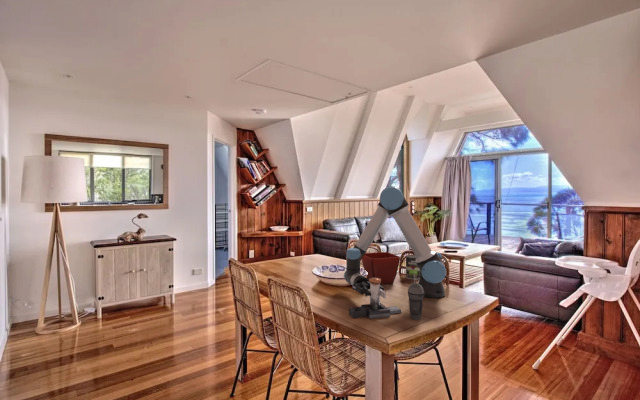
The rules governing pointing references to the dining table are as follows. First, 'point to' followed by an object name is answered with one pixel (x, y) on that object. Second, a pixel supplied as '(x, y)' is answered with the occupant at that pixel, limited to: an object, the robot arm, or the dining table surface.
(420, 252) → the robot arm
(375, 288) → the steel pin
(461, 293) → the dining table surface
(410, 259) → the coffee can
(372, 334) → the dining table surface
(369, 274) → the plant pot
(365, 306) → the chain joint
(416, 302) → the beverage cup
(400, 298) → the dining table surface
